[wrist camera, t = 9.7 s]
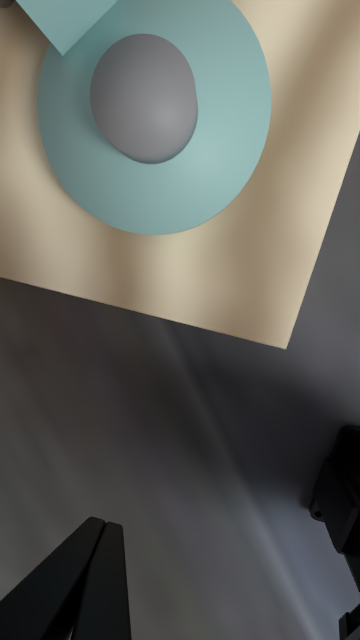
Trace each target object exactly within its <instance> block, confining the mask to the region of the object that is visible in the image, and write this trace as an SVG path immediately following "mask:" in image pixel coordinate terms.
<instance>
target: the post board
mask: <svg viewBox="0 0 360 640" xmlns="http://www.w3.org/2000/svg"><path fill="white" fill-rule="evenodd" d="M231 1H232V3H233V4H234V5H235V6H236V7H237V8H238V9H239V10H240V11H241V12H242V14H243V15H244V17H245V18H246V19H247V21H248V22H249V24H250V25H251V27H252V29H253V31H254V33H255V34H256V36H257V38H258V40H259V43H260V45H261V48H262V51H263V53H264V56H265V59H266V64H267V68H268V72H269V78H270V87H271V115H270V123H269V130H268V134H267V138H266V142H265V146H264V148H263V151H262V153H261V156H260V159H259V161H258V163H257V165H256V167H255V169H254V171H253V173H252V175H251V177H250V178H249V180H248V181H247V183H246V184H245V186H244V187H243V189H242V190H241V191H240V193H239V194H238V195H237V196H236V197H235V199H234V200H233V201H232V202H231V203H230V204H229V205H228V206H227V207H226V208H225V209H223V210H222V211H221V212H220V213H219V214H217V215H216V216H214V217H213V218H211V219H210V220H208V221H207V222H205V223H203V224H201V225H199V226H197V227H195V228H192V229H189V230H186V231H183V232H178V233H173V234H165V235H146V234H136V233H132V232H127V231H123V230H120V229H118V228H115V227H112V226H110V225H108V224H106V223H104V222H102V221H100V220H98V219H97V218H95V217H94V216H93V215H91V214H90V213H88V212H87V211H86V210H84V209H83V208H82V207H81V206H80V205H79V204H78V203H77V202H76V201H75V200H74V199H73V198H72V197H71V196H70V194H69V193H68V192H67V191H66V190H65V188H64V187H63V185H62V184H61V182H60V181H59V179H58V178H57V176H56V174H55V172H54V170H53V169H52V167H51V165H50V163H49V160H48V157H47V155H46V152H45V149H44V146H43V142H42V138H41V134H40V129H39V122H38V109H37V96H38V85H39V78H40V73H41V68H42V64H43V61H44V58H45V55H46V52H47V49H48V47H49V44H50V40H49V39H48V38H47V37H46V36H45V34H44V33H43V32H42V31H41V30H40V28H39V27H38V26H37V25H36V24H35V23H34V21H33V20H32V19H31V18H30V17H29V15H28V14H27V13H26V12H25V11H24V9H23V8H22V7H21V6H20V5H19V3H18V2H17V1H16V0H0V277H2V278H6V279H10V280H14V281H18V282H22V283H26V284H30V285H34V286H38V287H42V288H46V289H50V290H54V291H58V292H62V293H65V294H69V295H73V296H77V297H81V298H85V299H89V300H93V301H97V302H101V303H105V304H109V305H113V306H117V307H121V308H125V309H129V310H133V311H137V312H141V313H145V314H148V315H152V316H156V317H160V318H164V319H168V320H172V321H176V322H180V323H184V324H188V325H192V326H196V327H200V328H204V329H208V330H212V331H216V332H220V333H224V334H228V335H231V336H235V337H239V338H243V339H247V340H251V341H255V342H259V343H263V344H267V345H271V346H275V347H279V348H283V349H286V348H287V345H288V342H289V339H290V336H291V333H292V330H293V327H294V324H295V321H296V318H297V315H298V312H299V309H300V306H301V303H302V300H303V297H304V294H305V291H306V288H307V285H308V282H309V279H310V276H311V273H312V270H313V267H314V264H315V262H316V259H317V256H318V253H319V250H320V247H321V244H322V241H323V238H324V235H325V232H326V229H327V226H328V223H329V220H330V217H331V214H332V211H333V208H334V205H335V202H336V199H337V196H338V193H339V190H340V187H341V184H342V181H343V178H344V175H345V172H346V169H347V166H348V163H349V160H350V157H351V155H352V152H353V149H354V146H355V143H356V140H357V137H358V134H359V131H360V0H231Z"/></svg>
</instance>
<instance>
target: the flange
mask: <svg viewBox="0 0 360 640" xmlns="http://www.w3.org/2000/svg"><path fill="white" fill-rule="evenodd" d="M16 1H17V2H18V3H19V5H20V6H21V7H22V8H23V9H24V11H25V12H26V13H27V14H28V15H29V17H30V18H31V19H32V20H33V21H34V23H35V24H36V25H37V26H38V27H39V28H40V30H41V31H42V32H43V33H44V34H45V36H46V37H47V38H48V39H49V40H50V44H49V47H48V49H47V52H46V55H45V58H44V61H43V64H42V68H41V73H40V78H39V85H38V96H37V109H38V122H39V129H40V134H41V138H42V142H43V146H44V149H45V152H46V155H47V157H48V160H49V163H50V165H51V167H52V169H53V170H54V172H55V174H56V176H57V178H58V179H59V181H60V182H61V184H62V185H63V187H64V188H65V190H66V191H67V192H68V193H69V194H70V196H71V197H72V198H73V199H74V200H75V201H76V202H77V203H78V204H79V205H80V206H81V207H82V208H83V209H84V210H86V211H87V212H88V213H90V214H91V215H93V216H94V217H95V218H97V219H98V220H100V221H102V222H104V223H106V224H108V225H110V226H112V227H115V228H118V229H120V230H123V231H127V232H132V233H136V234H146V235H165V234H173V233H178V232H183V231H186V230H189V229H192V228H195V227H197V226H199V225H201V224H203V223H205V222H207V221H208V220H210V219H211V218H213V217H214V216H216V215H217V214H219V213H220V212H221V211H222V210H223V209H225V208H226V207H227V206H228V205H229V204H230V203H231V202H232V201H233V200H234V199H235V197H236V196H237V195H238V194H239V193H240V191H241V190H242V189H243V187H244V186H245V184H246V183H247V181H248V180H249V178H250V177H251V175H252V173H253V171H254V169H255V167H256V165H257V163H258V161H259V159H260V156H261V153H262V151H263V148H264V146H265V142H266V138H267V134H268V130H269V123H270V115H271V87H270V78H269V72H268V68H267V64H266V59H265V56H264V53H263V51H262V48H261V45H260V43H259V40H258V38H257V36H256V34H255V33H254V31H253V29H252V27H251V25H250V24H249V22H248V21H247V19H246V18H245V17H244V15H243V14H242V12H241V11H240V10H239V9H238V8H237V7H236V6H235V5H234V4H233V3H232V1H231V0H16Z"/></svg>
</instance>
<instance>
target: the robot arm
mask: <svg viewBox="0 0 360 640" xmlns="http://www.w3.org/2000/svg"><path fill="white" fill-rule="evenodd" d="M350 433H353V435H352V436H351V437H347V435H348V434H350ZM313 494H314V496H313V498H312V501H311V503H310V506H309V512H310V514H311V517H312V518H313V519H315V520H317V521H321V522H325V525H326V527H327V530H328V533H329V535H330V538H331V540H332V543H333V546H334V548H335V549H336V551H337V552H338V553H339V554H343V555H344V556H345V559H346V561H347V563H348V566H349V568H350V571H351V573H352V576H353V578H354V581H355V583H356V585H357V588H358V590H359V592H360V428H358V427H354V426H344V427H343V428H342V429H341V430H340V432H339V435H338V437H337V439H336V442H335V444H334V447H333V449H332V452H331V454H330V456H329V457H327V458H326V459H325V462H324V464H323V467H322V469H321V472H320V474H319V477H318V479H317V482H316V484H315V487H314V489H313ZM317 510H320V511H319V512H316V511H317ZM72 630H73V631H72ZM71 632H72V636H71V640H132V638H131V625H130V613H129V600H128V588H127V575H126V562H125V550H124V537H123V527H122V526H121V525H120V524H116V523H113V522H107V523H106V522H105V521H104V520H102V519H99V518H96V517H89V518H88V519H87V520H86V521H85V522H84V523H83V524H82V525H80V526H79V527H78V528H77V529H76V530H75V531H74V532H73V533H72V534H71V535H70V536H69V537H68V538H67V539H66V540H65V541H63V542H62V543H61V544H60V545H59V546H58V547H57V548H56V549H55V550H54V551H53V552H52V553H51V554H50V555H49V556H48V557H47V558H45V559H44V560H43V561H42V562H41V563H40V564H39V565H38V566H37V567H36V568H35V569H34V570H33V571H32V572H31V573H30V574H28V575H27V576H26V577H25V578H24V579H23V580H22V581H21V582H20V583H19V584H18V585H17V586H16V587H15V588H14V589H13V590H12V591H10V592H9V593H8V594H7V595H6V596H5V597H4V598H3V599H2V600H1V601H0V640H68V639H69V637H70V635H71ZM339 635H340V640H360V604H359V605H358V606H357V607H356V608H355V609H354V610H352V611H351V612H350V613H348V612H347V613H345V614H344V615H343V616H342V617H341V618H340V619H339Z"/></svg>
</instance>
